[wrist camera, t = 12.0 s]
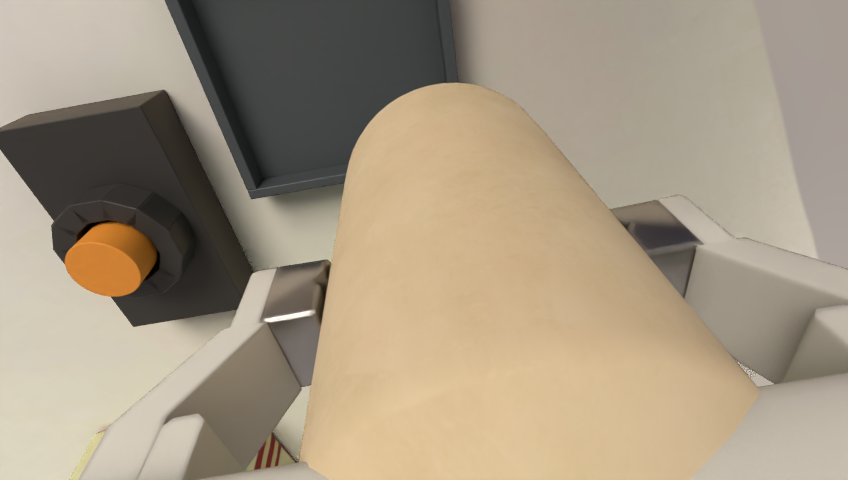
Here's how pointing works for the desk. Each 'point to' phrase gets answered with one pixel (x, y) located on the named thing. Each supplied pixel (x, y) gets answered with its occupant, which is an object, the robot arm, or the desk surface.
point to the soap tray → (309, 77)
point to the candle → (501, 316)
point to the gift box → (265, 458)
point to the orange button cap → (111, 259)
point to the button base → (134, 198)
